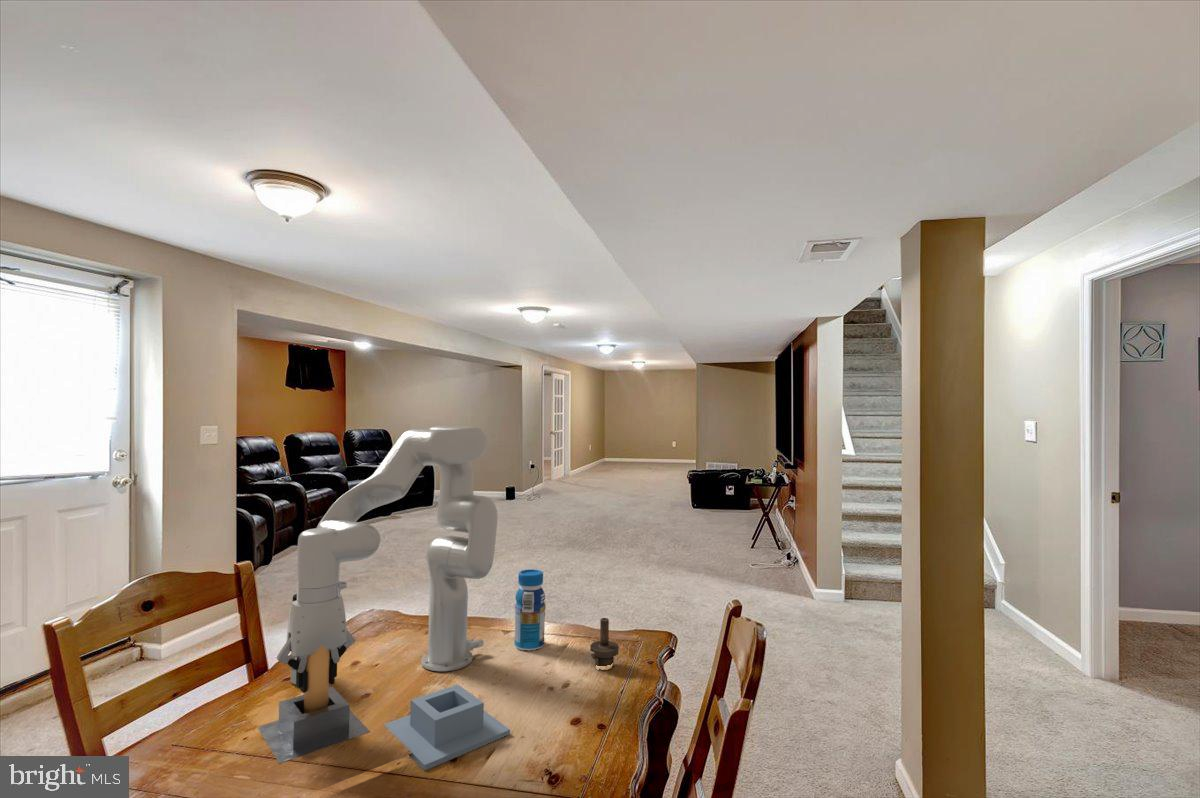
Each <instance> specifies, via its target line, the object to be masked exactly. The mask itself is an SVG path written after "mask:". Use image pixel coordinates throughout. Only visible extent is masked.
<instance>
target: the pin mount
mask: <svg viewBox="0 0 1200 798" xmlns="http://www.w3.org/2000/svg"><path fill="white" fill-rule="evenodd" d="M350 705H351V704H350V703H349V702H348V701H347V700H346V699H345V698H344V697H343V696H342V695H341V694H340V693H339V691H338V690H336V689H335V688H334V687H333V686H329V706H328V707H325V708H321V709H318V710H315V711H312V712H308V713H305V714H304V694H302V695H299V696H294V697H291V698H289V699H283V700H282V701H279V704H278V720H274V721H273V722H269V723H265V724H262V725H259V726H257V729H258V731H259V732H260V734H261V735H262V737H263V739H264V741H265V742H266V743H267V745H268V747H269V749H270V750H271V751H270V752H272V754H273V755H274V757H275V758H276V760H277V762H278V764H279V765H280V764H283V763H286V762H288V761H291V760H294V759H297V758H301V757H302V756H306V755H308V754H311V753H313V752H317V751H319V750H323V749H324V748H325V749H326V748H328V747H332V746H334V745H337V744H339V743H342V742H346V741H348V740H350V739H354V738H356V737H360V736H363V735H366V734H369V733H371V731H370V729H368V727H367V726H366V725H365V724H364V723H363V722H362V721H361V720H360V719H359V718H358V716H356V715H355V714H354V712H353V711H352V710H351V709H350V708H351V707H350Z"/></svg>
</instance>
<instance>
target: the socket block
mask: <svg viewBox="0 0 1200 798" xmlns="http://www.w3.org/2000/svg"><path fill="white" fill-rule="evenodd" d="M484 703H485V702H484V701H482V700H480V699H479V698H478V697H476V696H475V695H474V694H472V693H471V692H469V691H468V690H466V689H465V688H463V686H461V685H459V684H455V685H452V686H449V687H448V686H447V687H446V688H443V689H439V690H437V691H434V692H431V693H428V694H424V695H421V696H418V697H415V698H413V699H410V708H409V709H410V711H409V712H410V714H409V715H406V716H403V717H401V718H398V719H395V720H392V721H389V722H387V723H383V725H384V726H385V727H386V728H387V730H389V732H391V734H392V735H393V736H395V738H396V739H397V740H399V742H400V743H402V744H403V746H405V748H406V749H407V750H409V752H410V753H409V754H408V755H409V757H410V758H411V759H412V760H413V761H414V762H415V763H416V764H417V765H418V766H419V767H420V768H421V769H422V771H425V772H426V771H427V770H430V769H432V768H434V767H436V766H439V765H442V764H444V763H446V762H449V761H451V760H454V759H455V758H458V757H460V756H463V755H466V754H468V753H469V751H470V752H472V750H473V751H474V750H477V749H479V747H480V748H481V746H482V747H484V746H486V744H487V745H489V744H491V743H494V742H496V741H498V740H497V739H499V738H501V739H503V738H505V737H504V736H506V735H508V736H510V735H511V729H510V728H509V727H508V726H506V725H505V724H503V723H502V722H500V721H499V720H498V719H497V718H495V717H493V716H492V715H491V714H489V713H488V712H487V711H485V709H484V708H485V707H484V706H485V705H484ZM509 734H510V735H509ZM502 737H503V738H502ZM506 737H507V736H506ZM495 740H496V741H495ZM499 740H500V739H499ZM493 741H494V742H493ZM490 742H491V743H490ZM488 743H489V744H488ZM483 745H484V746H483ZM467 752H468V753H467Z"/></svg>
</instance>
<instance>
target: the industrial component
mask: <svg viewBox="0 0 1200 798" xmlns="http://www.w3.org/2000/svg"><path fill="white" fill-rule="evenodd" d="M609 621H610V620H609V618H608V617H602V618H600V621H599V623H600V625H599V627H600V628H599V629H600V630H599V631H600V632H599V633H600V634H599V635H600V637H599V640H598V641H597V640H596V641H594V642H591V644H590V645H589V650H590V651H591V652H593V653H590V657H592V660H594V667H595V666H596V665H597V666H607V665H611V664H612V663H613V662H614V659H615V658H614V657H617V655H619V648H620V647H619V646H620V645H619V644H618V643H616V642H614V641H611V640H609V638H610V637H609V635H610V634H609V631H610V629H609V628H610V625H609V623H610V622H609Z"/></svg>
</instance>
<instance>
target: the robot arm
mask: <svg viewBox="0 0 1200 798" xmlns="http://www.w3.org/2000/svg"><path fill="white" fill-rule="evenodd" d="M487 448H488V439H487V435H486V433H485V432H484V431H483V430H482V429H481V428H479V427H478V426H469V425H468V426H467V425H465V426H463V425H445V424H444V425H436V426H432V427H430V428H413V429H409V430H406V431H405V432H403V433H402V434H401V435H400V436H399V437H398V439H397V440H396V441H395V443H394V444H393V445H392V447H391V448H390V450H389V451H388V453H387V454H386V455H385V457H384V459H383V460H382V461H381V462H380V463H379V465H378V466H377V468H376V469H375V470H374V472H373V473H372V474H371V475H370V476H369V477H367V478H366V479H364V480H362V481H361V482H360V483H357V484H356V485H355V486H353V487H352V488H350V489H349V490H348V491H346V492H345V493H343V494H342V495H341V496H340V497H338V498H337V499H336V501H335V502H333V503H332V504H331V506H329V508H328V510H327V511H326V513H325V514H324V516H323V517H321V519H320V521H319V522H318V524H317V526H316V527H315V528H309V529H306V530H304V531H302V532H301V533H299V535H298V538H297V568H296V569H297V571H296V573H297V577H296V580H297V581H296V594H297V600H296V601H293V600H292V601H293V602H291V606H290V609H289V614H288V615H289V616H288V623H287V631H286V642H285V643H284V645H283V646H282V648H281V650H280V651H279V652H278V654H277V656H276V660H277V661H278V662H279V663H281V664H283V665H284V664H285V665H287V666H289V667H290V668H291V667H292V668H294V669H295V670H296V685H295V686H296V688H297V689H299V690H300V691H301V693H303V694H304V693H305V692H306V691H307V683H308V672H307V671H306V667H305V666H306V662H307V658H308V655H311V654H314V653H316V651H317V650H318V648H319V647H320V646H323V647H324V648H325V650H330V656H329V685H335V682H336V681H335V678H337V676H338V663H339V662H340V660H341V659H340V658H341V657H342V656H343V655H344V653H345V652H346V651H347V650H348V649H349V648H350V647H351V646H352V645H353V644H355V642H356V639H355V637H354V636H353V635H352V634H351V633H350V631H349V630H348V629H347V618H346V610H345V603H344V599H343V595H342V594H341V590H344V589H347V581H341V580H340V571H341V569H340V567H341V565H340V564H341V563H346V562H347V563H348V562H356V561H363V560H366V559H369V558H370V557H372V556H373V555H374V554H375V553H377V551H378V549H379V547H380V546H381V545H380V544H381V535H380V532H379V531H378V529H377V528H376V527H375V526H373V525H371V524H368V523H364V522H358V520H359V519H360V518H361V517H362V516H364V515H365V514H367V513H368V512H370V511H372V510H373V509H376V508H378V507H381V506H384V505H388V504H390V503H391V504H392V503H393V502H395V501H398V500H400V499H402V498H404V497H405V496H406V494H407V493H408V492H409V490H410V488H411V487H412V485H413V484H414V483H415V481H416V479H417V478H418V476H419V475H420V473H421V472H422V471H423V469H424V468H425V467H426V466H433V467H434V466H436V467H438V468H439V473H440V480H439V481H440V485H439V486H440V487H439V493H438V501H437V502H438V503H437V511H436V512H437V513H436V514H437V516H436V520H437V521H436V522H437V523H438V525H439V526H440V528H442V529H444V530H446V531H450V532H451V531H453V532H458V533H459V532H460V533H467V536H468V537H464V536H463V537H462V536H454V535H441V536H438V537H436V538H434V539H433V540H431V542H430V543H429V545H428V546H427V550H426V555H425V560H426V566H427V571H428V580H429V602H428V605H429V606H428V637H427V638H428V641H427V645H428V646H427V652H426V653H425V654H424V655H423V656H422V657H421V663H420V664H421V666H422V667H423V668H424V669H426V670H429V671H433V672H452V671H456V670H461V669H463V668H465V667H467V666H468V665H470V664H471V663H472V661H473V656H474V655H473V653H472V652H473V650H474V649H478V648H481V647H483V646H484V640H483V638H478V639H476V640H475V639H474V637H472V638H469V639H468V606H469V605H468V601H469V595H468V594H469V591H468V584H467V581H466V579H469V580H470V579H471V580H480V579H484V578H485V577H486V576H487V575H489V573H490V571H491V569H492V567H493V565H494V557H495V549H496V540H497V531H498V519H499V518H498V511H497V506H496V504H495V502H494V501H493V500H492V499H491V498H489V497H487V496H484V495H478V494H477V495H475V494H474V485H475V473H474V469H473V466H472V464H471V462H474V461H478V460H479V459H480V458H482V457H483V455H484V454H485V453H486V451H487ZM291 651H292V655H293V656H294V657H296V659H294V658H292V657H291V656H289V654H291Z"/></svg>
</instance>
